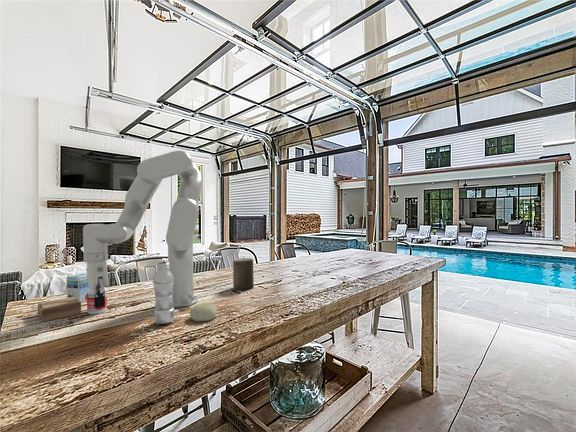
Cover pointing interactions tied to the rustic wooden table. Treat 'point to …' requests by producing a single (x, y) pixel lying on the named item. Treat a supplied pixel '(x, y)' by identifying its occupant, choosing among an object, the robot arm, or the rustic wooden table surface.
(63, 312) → the walnut base
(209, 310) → the sea urchin shell
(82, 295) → the light bulb box
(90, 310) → the pill bottle
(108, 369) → the rustic wooden table surface
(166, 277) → the plastic bottle
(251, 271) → the pillar candle
